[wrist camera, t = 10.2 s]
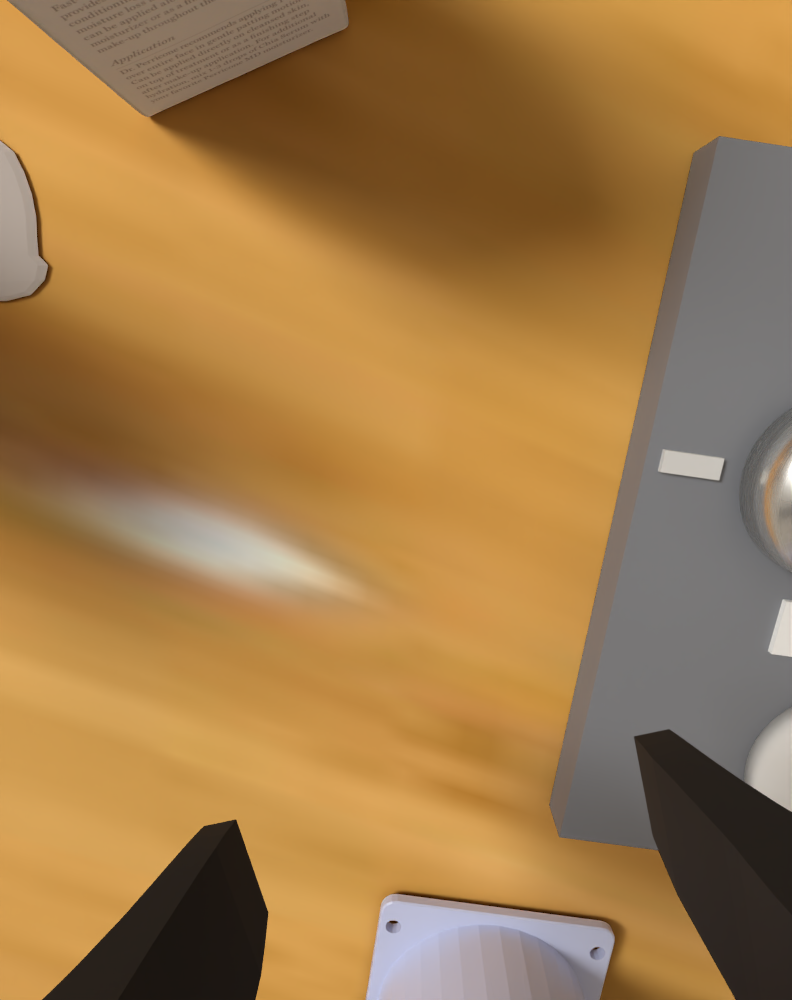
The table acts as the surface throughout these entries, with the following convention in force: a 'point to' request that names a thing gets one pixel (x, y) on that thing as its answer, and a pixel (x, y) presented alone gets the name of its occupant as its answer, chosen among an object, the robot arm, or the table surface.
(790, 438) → the knob
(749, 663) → the base
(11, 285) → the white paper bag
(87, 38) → the skincare box
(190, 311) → the table surface
